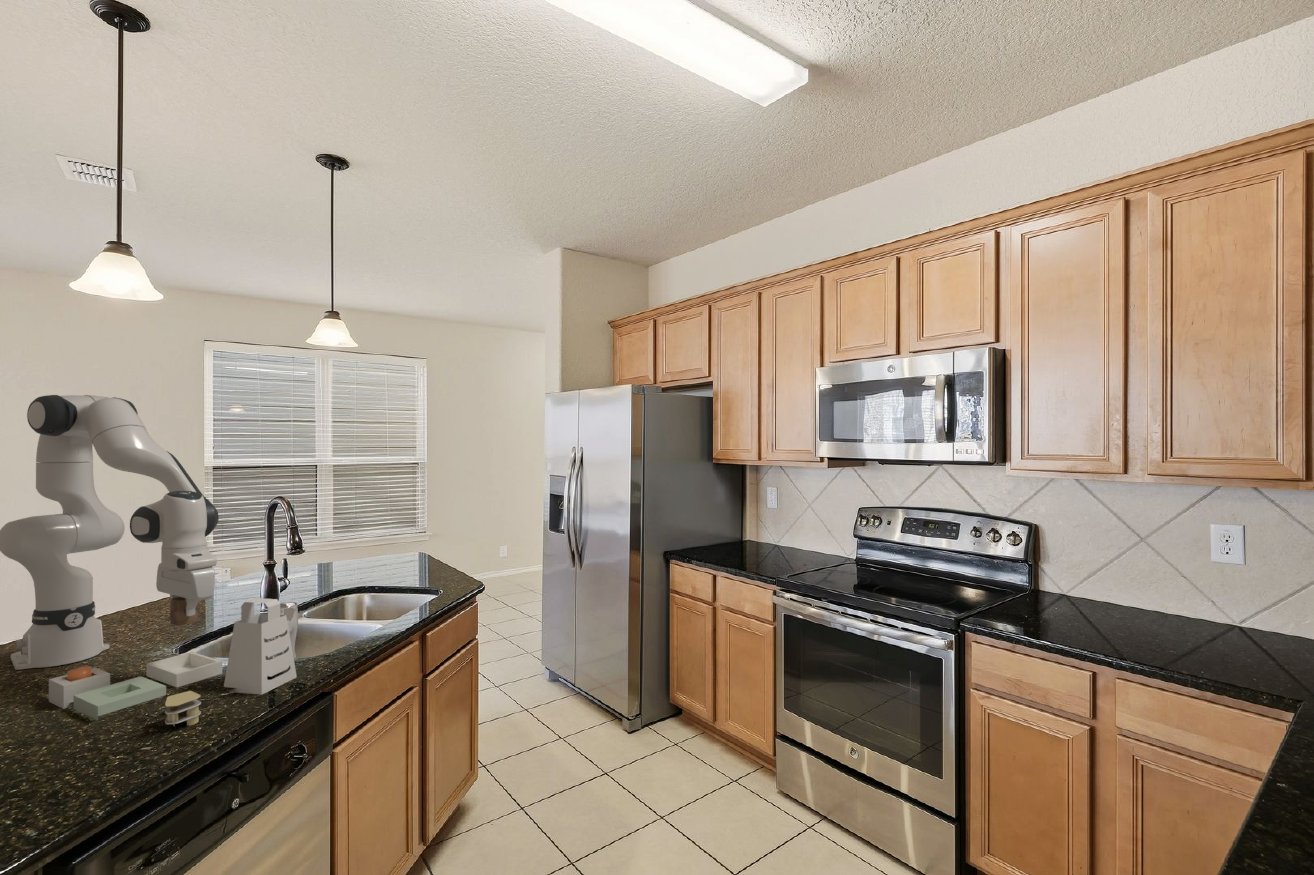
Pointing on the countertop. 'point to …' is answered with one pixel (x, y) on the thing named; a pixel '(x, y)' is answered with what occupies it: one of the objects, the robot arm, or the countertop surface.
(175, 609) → the walnut block
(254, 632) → the grater
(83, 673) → the button
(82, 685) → the button housing
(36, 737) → the countertop surface
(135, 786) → the countertop surface
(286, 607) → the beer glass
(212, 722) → the countertop surface
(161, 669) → the tote
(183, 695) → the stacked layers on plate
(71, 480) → the robot arm
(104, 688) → the pallet plate
